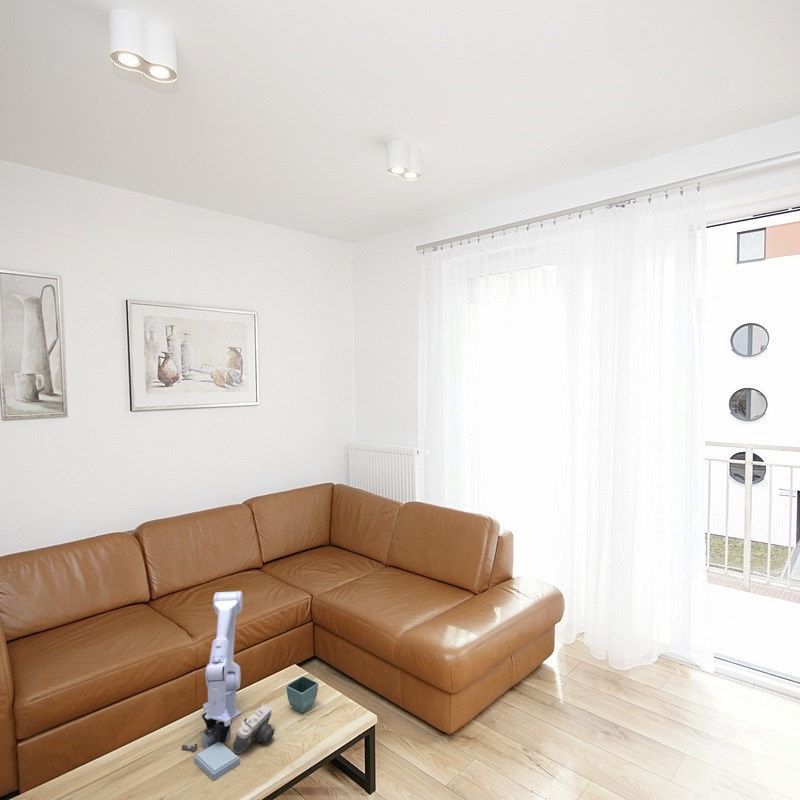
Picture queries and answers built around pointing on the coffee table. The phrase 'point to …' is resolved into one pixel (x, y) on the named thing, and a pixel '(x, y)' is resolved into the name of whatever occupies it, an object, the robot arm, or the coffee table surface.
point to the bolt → (190, 747)
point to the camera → (254, 729)
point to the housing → (212, 736)
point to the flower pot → (302, 693)
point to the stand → (216, 760)
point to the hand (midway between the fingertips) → (217, 738)
